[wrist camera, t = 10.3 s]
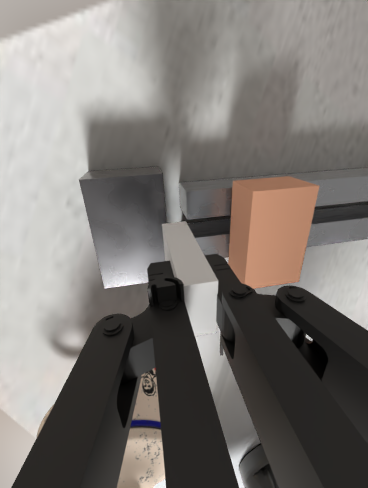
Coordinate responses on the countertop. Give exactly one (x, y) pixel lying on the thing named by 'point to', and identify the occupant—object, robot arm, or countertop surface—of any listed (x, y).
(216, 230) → the tong arm
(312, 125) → the countertop surface
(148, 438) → the teacup with lid
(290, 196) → the peach rectangular block
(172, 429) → the robot arm
